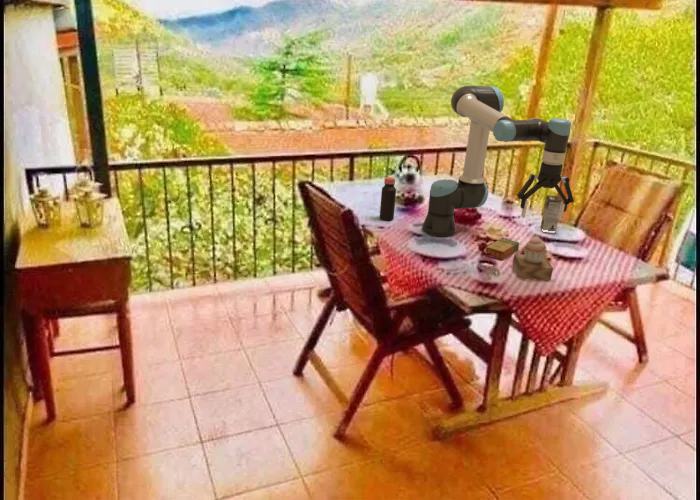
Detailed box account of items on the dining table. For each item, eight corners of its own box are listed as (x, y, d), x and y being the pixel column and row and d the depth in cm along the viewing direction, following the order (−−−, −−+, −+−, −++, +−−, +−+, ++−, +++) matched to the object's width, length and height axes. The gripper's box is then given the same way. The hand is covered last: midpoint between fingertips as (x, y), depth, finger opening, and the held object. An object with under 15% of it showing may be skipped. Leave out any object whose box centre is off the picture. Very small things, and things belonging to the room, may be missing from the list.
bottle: (388, 222, 267) (392, 181, 259) (376, 218, 270) (379, 178, 263) (396, 219, 272) (399, 178, 264) (384, 215, 275) (387, 175, 268)
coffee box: (540, 226, 273) (546, 194, 267) (553, 228, 272) (560, 196, 266) (542, 232, 265) (548, 200, 259) (556, 234, 264) (563, 201, 258)
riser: (518, 277, 215) (520, 265, 213) (512, 265, 226) (514, 253, 224) (550, 280, 215) (553, 268, 213) (542, 267, 226) (545, 256, 224)
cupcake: (549, 261, 219) (554, 237, 215) (538, 267, 213) (543, 243, 209) (527, 254, 225) (532, 230, 221) (516, 260, 218) (520, 236, 215)
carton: (484, 255, 235) (485, 246, 234) (500, 246, 247) (501, 236, 245) (502, 261, 230) (504, 251, 229) (518, 251, 242) (520, 241, 241)
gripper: (519, 162, 201) (509, 218, 209) (590, 167, 200) (577, 224, 208) (515, 157, 208) (505, 212, 216) (584, 162, 207) (571, 217, 215)
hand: (541, 218), depth 212 cm, fingers open, 13 cm apart
